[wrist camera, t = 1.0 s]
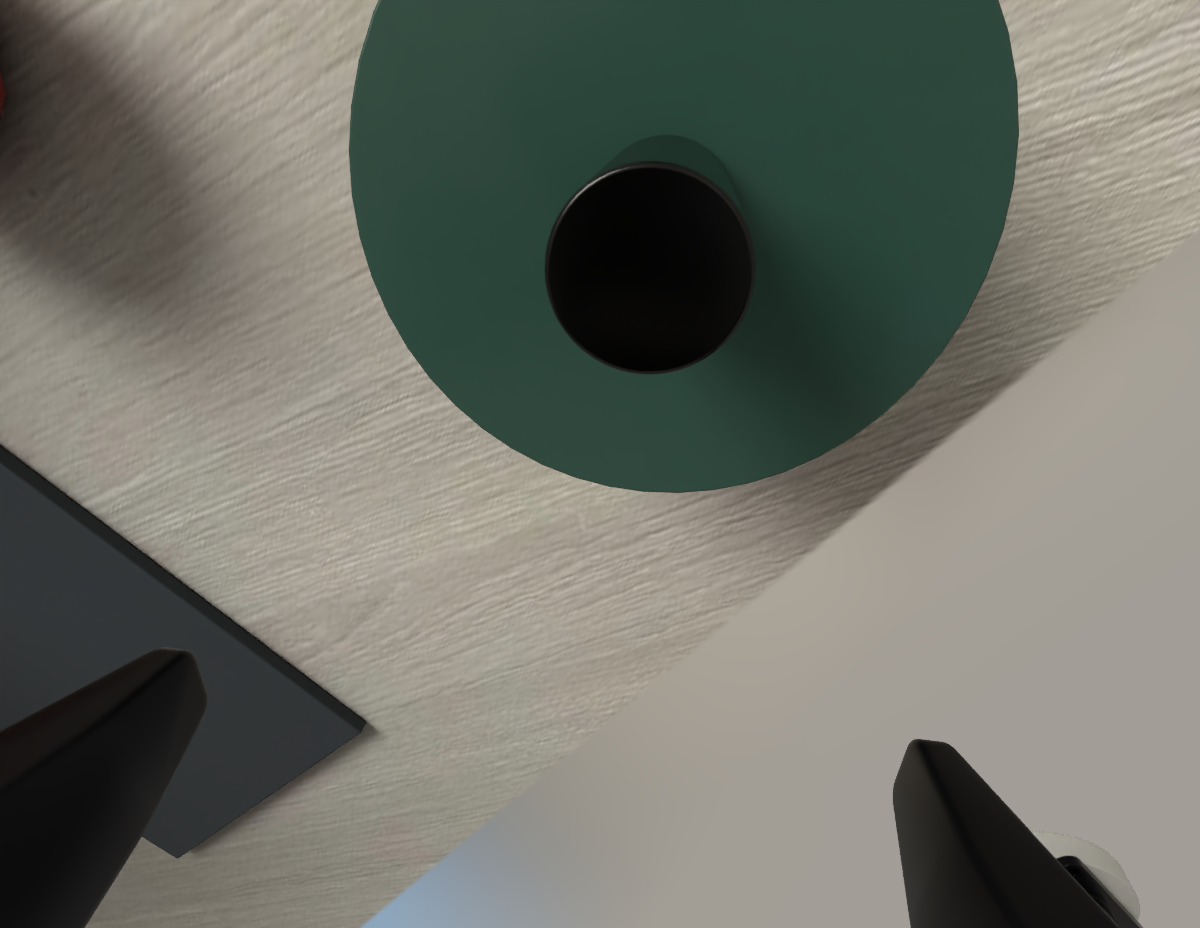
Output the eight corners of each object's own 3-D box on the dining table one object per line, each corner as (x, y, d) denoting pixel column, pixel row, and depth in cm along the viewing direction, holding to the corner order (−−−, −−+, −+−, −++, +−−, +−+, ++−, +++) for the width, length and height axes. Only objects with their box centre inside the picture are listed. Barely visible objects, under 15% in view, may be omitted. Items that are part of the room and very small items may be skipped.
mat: (366, 722, 30) (361, 733, 30) (184, 848, 37) (177, 859, 36) (-18, 431, 25) (-34, 438, 25) (-151, 636, 32) (-165, 645, 31)
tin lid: (1118, 227, 12) (1402, 324, 7) (639, 552, 17) (616, 748, 12) (714, -432, 9) (734, -1033, 4) (260, 181, 14) (13, 236, 9)
